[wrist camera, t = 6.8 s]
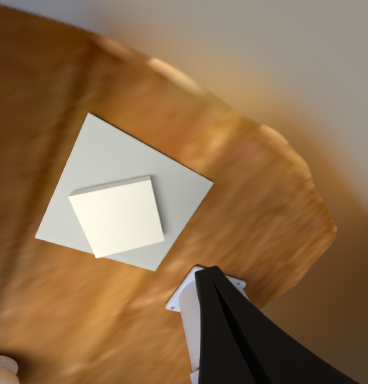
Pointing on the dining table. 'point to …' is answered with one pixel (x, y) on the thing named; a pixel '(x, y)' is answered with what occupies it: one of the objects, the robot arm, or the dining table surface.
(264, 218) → the dining table surface
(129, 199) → the tile
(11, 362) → the flower vase
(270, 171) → the dining table surface
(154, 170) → the felt pad
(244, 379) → the robot arm
